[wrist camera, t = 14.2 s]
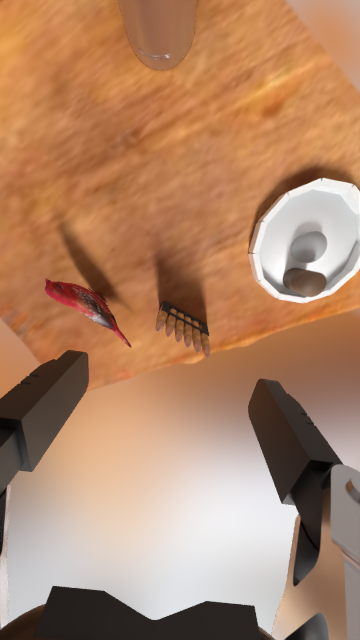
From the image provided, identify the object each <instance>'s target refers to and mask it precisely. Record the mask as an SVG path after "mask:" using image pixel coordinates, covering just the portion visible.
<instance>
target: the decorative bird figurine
mask: <svg viewBox="0 0 360 640" xmlns="http://www.w3.org/2000/svg"><path fill="white" fill-rule="evenodd" d="M89 290H90V291H89ZM89 290H88V289H86V288H84V287H81V286H79V285H76V284H71V283H63V282H52V281H50V280H48V279H46V287H45V291H46V293H47V294H48V295H49V296H50V297H51V298H53V299H54V300H56V301H58V302H60V303H62V304H64V305H67V306H70V307H72V308H74V309H75V310H77V311H79V312H80V313H82V314H84V315H85V316H87V317H88V318H90V319H91V320H93V321H95V322H97V323H98V324H100V325H102V326H104V327H107V328H109V329H111V330H113V331H114V332H115V333H116V334H117V335H118V336H119V337H120V338H121V339H122V340H123V341H124V342H125V343H126V344H127V345H128V346H129V347H131V345H130V343H129V342H128V341H127V339H126V338H125V336H124V335H123V334H122V332H121V331H120V330H119V328H118V326H117V323H116V320H115V318H114V316H113V314H112V313H111V312H110V310H109V308H108V307H109V306H108V305H106V303H105V302H104V301H103V299H102V298H101V297H100V296H99V295H98V294H97V293H95V292H93V291H92V290H91V289H89ZM107 306H108V307H107Z"/></svg>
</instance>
